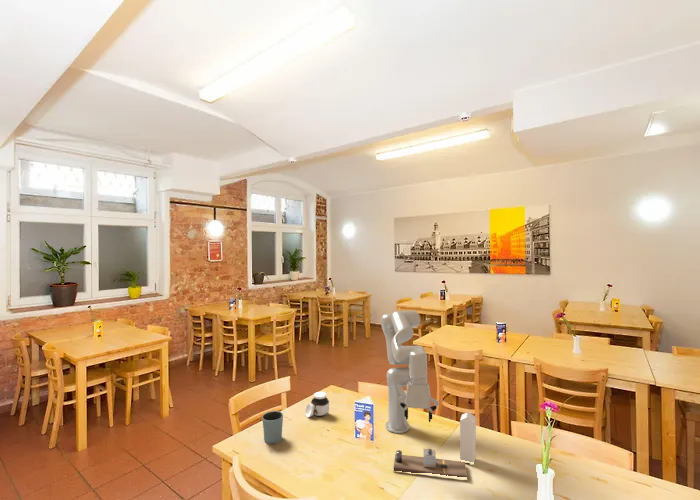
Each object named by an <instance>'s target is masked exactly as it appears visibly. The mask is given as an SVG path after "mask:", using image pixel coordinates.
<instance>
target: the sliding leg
mask: <svg viewBox="0 0 700 500" xmlns="http://www.w3.org/2000/svg"><path fill="white" fill-rule="evenodd" d="M423 457H424V467H430V468H436V459H437V457H436V449H432V448H423Z"/></svg>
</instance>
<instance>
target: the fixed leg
mask: <svg viewBox="0 0 700 500" xmlns="http://www.w3.org/2000/svg"><path fill="white" fill-rule="evenodd" d="M395 454H396V461H397V462H399V463H400V462H402V455H403V452H402V450H400V449H399V450H396V451H395Z"/></svg>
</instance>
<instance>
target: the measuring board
mask: <svg viewBox="0 0 700 500" xmlns="http://www.w3.org/2000/svg"><path fill="white" fill-rule="evenodd" d="M394 471H402V472H411V473H432V474H440V475H446V476H447V475H448V476H457V477H467V478H468V474H467V472H468V471H467V467H466V464H465V462H461V461H460V460H450V459H442V458H441V459H440V458H436V468H430V467H424V456H418V455H417V456H416V455H405V454H402V462H400V463H399V462H397V461H396V453H395V454H394V461H393V472H394Z"/></svg>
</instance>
